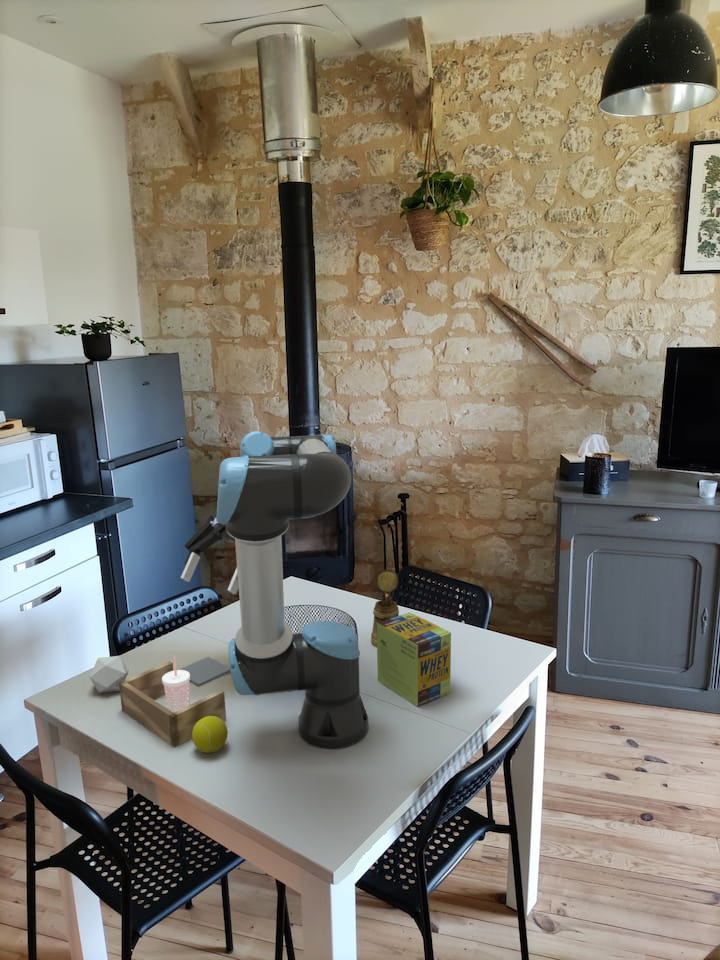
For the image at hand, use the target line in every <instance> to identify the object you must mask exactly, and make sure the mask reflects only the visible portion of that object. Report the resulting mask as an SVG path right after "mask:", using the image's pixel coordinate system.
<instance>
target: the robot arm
mask: <svg viewBox="0 0 720 960" xmlns="http://www.w3.org/2000/svg"><path fill="white" fill-rule="evenodd" d="M336 443H337V442H336V439H335V437H334V436H333V435H332V434H317V435H316V434H315V435H314V434H313V435H296V436H289V435H288V436H270V435H269V434H267V433H265V432H263V431H261V430H260V431H259V430H258V431H257V430H254V431H251V432H249V433H247V434H246V435H244V437H243V438H242V440H241V442H240V447H239V448H240V449H239V456H237V457H236V456H235V457H228V458H224V460H222V461H221V463H220V464H219V471H218V484H217V486H218V488H217V506H216V517H214V515H212V514H211V515H209V517H208V518H207V520H206V522H205V523H204V524H203V525H202V527H200V528H199V530H197V532H196V533H195V534H194V535H193V536H192V537H191V538H190V539H189V540H187V542H186V543H185V544H184V548H185V549H186V550H187V551H189V552H188V555H187V556H186V559H185V561H184V565H185V567H184V569H183V571H182V574H181V576H180V579H182V580H183V581H185V582H187V583H190V582H191V579H192V577H193V574H194V573H195V570H196V568H197V565H198V563H199V561H200V560H201V556H200V554H201V553H203V552H204V551H206V550H208V548H210V547H211V546H212V545H214V544H215V543H216V542H218V541H222V540H223V539H224V540H226V541H232V542H234V543H235V555H236V568H235V571H234V573H233V576H232V577H231V580H230V582H229V586H228V587H227V592H229V593H230V594H232V595H237V593H238V595H239V608H240V609H239V611H240V622H241V623H240V624H241V626H240V627H239V628H238V630H237V632H236V634H235V638H232V639H231V640H230V641H229V642H228V660H229V668H231V672H230V674H231V680H232V683H233V686H234V688H235V690H236V692H237V693H238V694H239V695H240V696H241V695H242V696H255V697H257V696H260V695H269V694H270V695H271V694H279V693H280V694H281V693H288V692H289V693H290V692H295V691H296V692H298V691H299V692H300V691H304V692H305V693H304V694H305V695H304V700H303V703H302V707H301V711H300V713H299V716H298V720H297V724H298V725H297V726H298V730H297V731H298V734H299V736H300V738H301V739H302V740H303V741H305V742H306V744H307V743H308V744H309V745H311V746H314V747H316V748H322V749H341V748H346V747H349V746H352V745H355V744H356V743H358V742H359V741H361V740H363V738H364V737H366V735H367V734H368V731H369V716H368V713H367V710H366V707H365V705H364V704H365V703H364V701H363V699H362V697H361V694H360V665H359V664H360V654H361V653H360V647H359V637H358V636H357V633H356V631H354V630H353V628H351V627H350V626H348V625H346V624H343V623H341V622H338V621H333V620H314V621H312V622H309V623H307V624H305V625H304V626H303V629H302V630H301V632H300V633H293V631H292V629H291V627H290V626H289V624H287V623H286V622H285V601H284V600H285V599H284V598H285V597H284V593H285V592H284V574H283V573H284V572H283V570H284V568H283V545H282V543H283V542H282V536H283V535H284V534H286V532H287V531H288V530H289V527H290V520H296V519H297V520H299V519H309V518H314V517H317V516H321V515H323V514H325V513H327V512H330V511H331V510H332V509H334V508H335V507H337V506H338V505H339V504H340V503H341V502H342V501H343V500H344V499H345V498H346V496H347V495H348V492H349V491H350V488H351V485H352V473H351V470H350V467H349V466H348V463H346V461H345V460H344V459H343V457H341V456H340V455H338V454H337V444H336Z"/></svg>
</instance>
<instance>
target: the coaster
mask: <svg viewBox="0 0 720 960" xmlns="http://www.w3.org/2000/svg"><path fill="white" fill-rule="evenodd" d="M178 670H185V671H187V672H189V673H190V680H189V683H191V684H194V685H195V686H197V687H201V686H203V685H205V684H207V683H209V682H211V681H213V680H216V679H218V678H220V677H222V676H224V675H227V674H228V673H231V667H230V666H227V665H226V664H223V663H221V662H220V661H218V660H216V659H214V658H211V657H210V656H207V657H204V658H202V659H200V660H198V661H197V660H196V661H195V662H193V663H190V664H188V665H186V666H184V667H181V668H179V669H178Z"/></svg>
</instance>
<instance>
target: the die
mask: <svg viewBox="0 0 720 960" xmlns="http://www.w3.org/2000/svg"><path fill="white" fill-rule="evenodd" d="M128 675H129V669H128V667H127V665H126V664H125V662H124V660H123V659H122V657H121V656H120V655H116V656H114V655H113V656H105V657H98V658H97V659H96V661H95V663H94V666H93V668H92V671H91V673H90V675H89V679H90V681H91V683H92V684H93V686H94V687H95V688H96V690H97V692H98V694H101V693H102V694H103V693H111V692H120V688H119V683H120V682H122V681H125V680H127V676H128Z"/></svg>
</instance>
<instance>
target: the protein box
mask: <svg viewBox="0 0 720 960" xmlns="http://www.w3.org/2000/svg"><path fill="white" fill-rule="evenodd" d="M451 647H452V632H451V631H449V630H447V629H445V628H443V627H441V626H439V625H436V624H435V623H433V622H431V621H429V620H426V619H424V618H422V617H421V616H418V615H416V614H414V613H412V612H407V613H404V614H401V615H399V616H397V617H394V618H391V619H387V620H384V621H381V622H378V623H377V647H376V650H377V651H376V654H377V655H376V656H377V660H376V663H377V665H376V666H377V667H376V668H377V673H376V674H377V675H376V676H377V679H376V680H377V682H379V683H380V684H382V685H384V686H385V687H387V688H388V689H390V690H392V692H394V693H396V694H397V695H398V696H400V697H402V698H403V699H405V700H406V701H408V702H410V703H411V704H412V705H414V706H416V707H417V708H418V707H420V706H422V705H423V706H424V704H427V703H430V702H432V701H434V700H436V699H439V698H441V697H444V696H446V695H448V694H451V670H452V669H451V668H452V667H451V664H452V661H451V658H452V657H451V656H452V655H451V654H452V652H451V649H452V648H451Z"/></svg>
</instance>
